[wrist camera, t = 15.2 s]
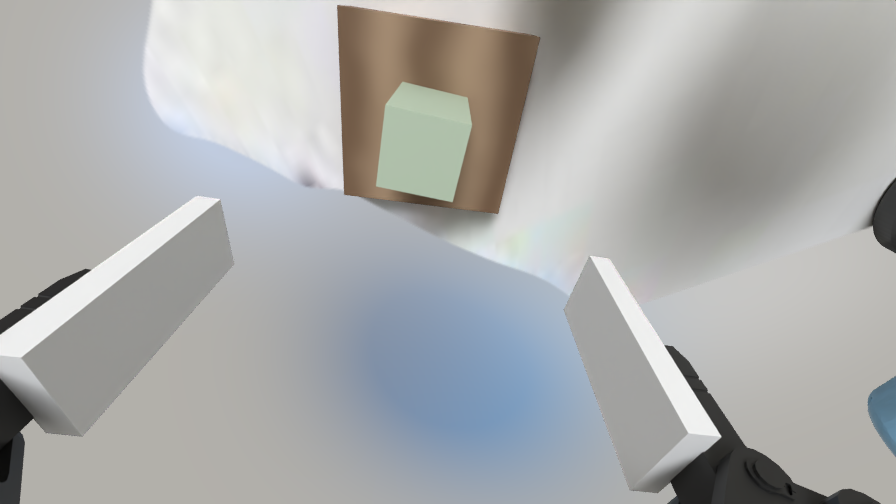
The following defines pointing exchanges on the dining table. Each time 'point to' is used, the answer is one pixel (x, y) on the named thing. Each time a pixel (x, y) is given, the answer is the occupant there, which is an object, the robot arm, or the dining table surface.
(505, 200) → the dining table surface
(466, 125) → the sage block
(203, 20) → the dining table surface
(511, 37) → the walnut plinth
